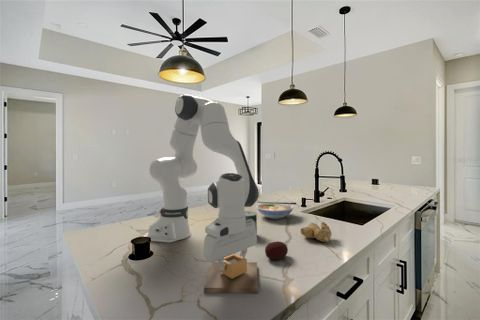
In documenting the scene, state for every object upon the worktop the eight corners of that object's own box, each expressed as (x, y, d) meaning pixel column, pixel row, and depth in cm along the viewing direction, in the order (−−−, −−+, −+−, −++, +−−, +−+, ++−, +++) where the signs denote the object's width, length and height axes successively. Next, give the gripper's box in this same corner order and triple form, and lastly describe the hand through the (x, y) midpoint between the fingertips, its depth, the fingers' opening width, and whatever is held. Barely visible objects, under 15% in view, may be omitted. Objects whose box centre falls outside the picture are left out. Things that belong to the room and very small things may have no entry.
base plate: (204, 292, 70) (203, 274, 70) (212, 266, 86) (212, 251, 86) (258, 293, 69) (258, 274, 69) (256, 266, 85) (256, 251, 85)
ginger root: (321, 246, 99) (318, 225, 101) (293, 243, 113) (290, 225, 114) (344, 239, 108) (341, 220, 110) (316, 237, 121) (313, 220, 123)
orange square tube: (232, 278, 73) (231, 266, 73) (219, 271, 78) (219, 259, 78) (246, 271, 77) (246, 259, 77) (234, 264, 82) (233, 253, 82)
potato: (260, 257, 93) (260, 242, 92) (280, 251, 98) (280, 236, 98) (272, 265, 86) (272, 248, 86) (293, 258, 92) (293, 242, 91)
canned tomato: (255, 239, 112) (255, 216, 111) (239, 238, 113) (239, 215, 113) (257, 233, 120) (257, 211, 119) (242, 232, 121) (242, 211, 121)
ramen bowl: (250, 221, 139) (250, 207, 139) (259, 211, 161) (259, 199, 161) (294, 224, 132) (294, 210, 132) (296, 214, 154) (296, 201, 154)
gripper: (248, 215, 86) (248, 252, 87) (200, 228, 73) (201, 273, 73) (261, 219, 82) (261, 258, 82) (212, 233, 68) (213, 281, 69)
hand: (232, 265), depth 78 cm, fingers closed on orange square tube, 6 cm apart
